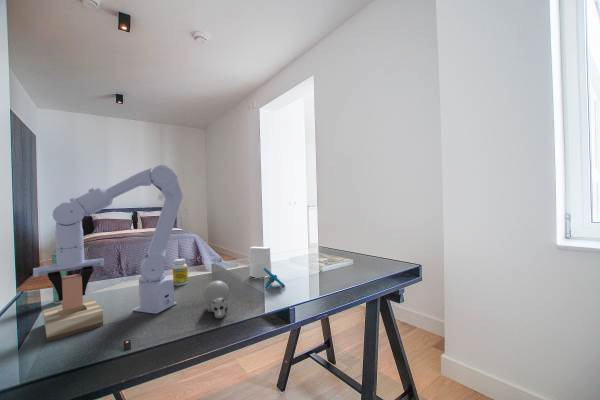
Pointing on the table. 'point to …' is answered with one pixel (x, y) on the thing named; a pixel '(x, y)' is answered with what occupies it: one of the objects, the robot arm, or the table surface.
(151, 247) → the robot arm
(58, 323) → the socket block
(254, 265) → the white rectangular block
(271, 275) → the teal crossed bar figure
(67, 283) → the peg
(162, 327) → the table surface
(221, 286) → the grey skull
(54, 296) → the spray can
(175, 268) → the supplement bottle
